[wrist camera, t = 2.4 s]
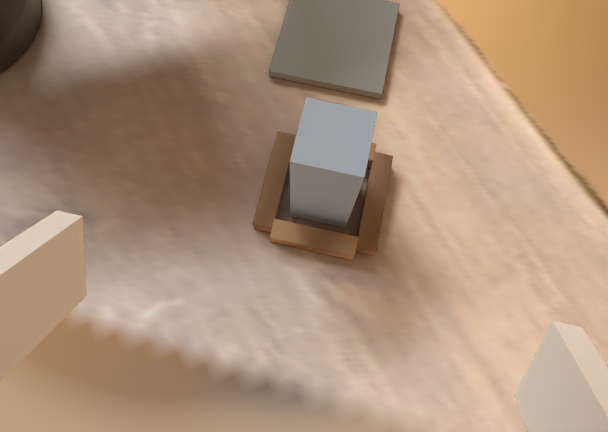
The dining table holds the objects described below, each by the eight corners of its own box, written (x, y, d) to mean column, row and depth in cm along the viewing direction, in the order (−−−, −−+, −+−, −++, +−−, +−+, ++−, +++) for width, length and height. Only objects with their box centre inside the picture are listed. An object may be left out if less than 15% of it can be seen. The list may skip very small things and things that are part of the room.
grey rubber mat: (269, 76, 40) (269, 70, 39) (294, -11, 43) (294, -17, 43) (380, 99, 40) (382, 93, 39) (397, 9, 43) (399, 3, 42)
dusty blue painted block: (290, 215, 36) (289, 161, 27) (302, 165, 38) (306, 97, 28) (345, 227, 36) (364, 177, 26) (355, 176, 37) (377, 111, 28)
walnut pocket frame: (251, 237, 35) (250, 232, 34) (280, 132, 38) (279, 123, 37) (371, 264, 35) (374, 260, 34) (390, 156, 38) (394, 147, 37)
